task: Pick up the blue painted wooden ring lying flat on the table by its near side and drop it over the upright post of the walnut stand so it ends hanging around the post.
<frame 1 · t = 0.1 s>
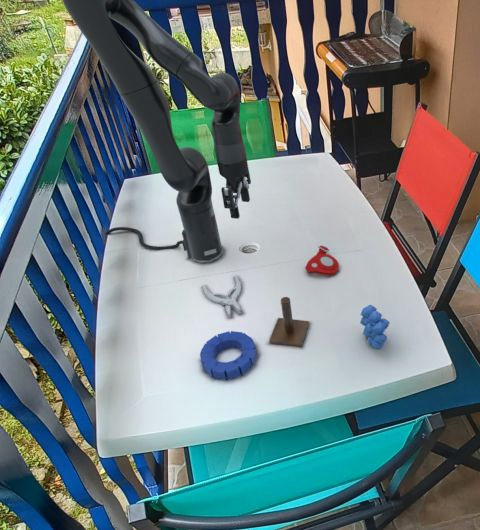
hand: (240, 209, 137), 17 cm above the table, tool pointing down, fingers open, 8 cm apart
ring: (229, 358, 118), on the table
grapes: (376, 343, 122), on the table
pliers: (227, 299, 134), on the table
tracker holder: (324, 265, 146), on the table
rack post: (289, 333, 124), on the table
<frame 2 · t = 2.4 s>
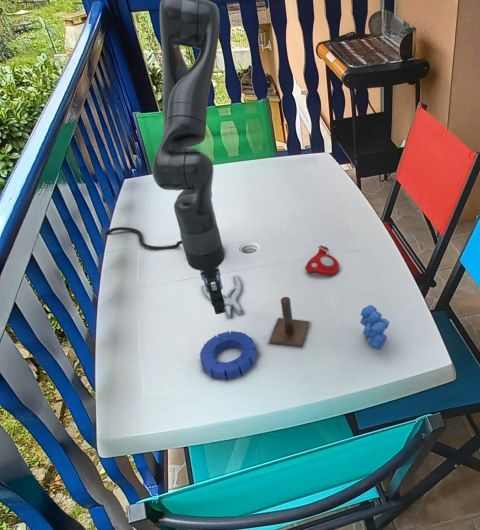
hand: (217, 300, 112), 15 cm above the table, tool pointing down, fingers open, 8 cm apart
nothing on the table moved.
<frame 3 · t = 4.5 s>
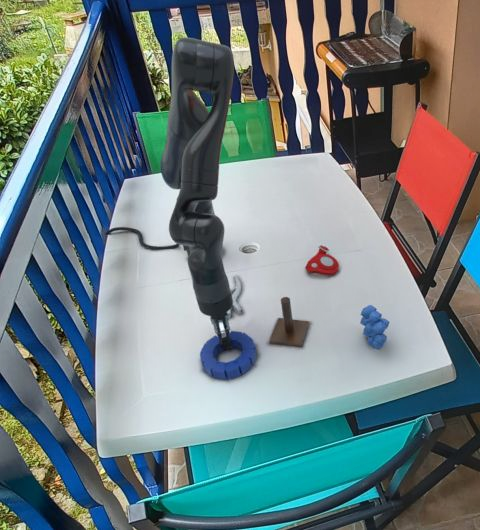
hand: (225, 342, 121), 1 cm above the table, tool pointing down, fingers closed on ring, 3 cm apart
ring: (229, 358, 118), on the table, touching gripper
everything else where it was.
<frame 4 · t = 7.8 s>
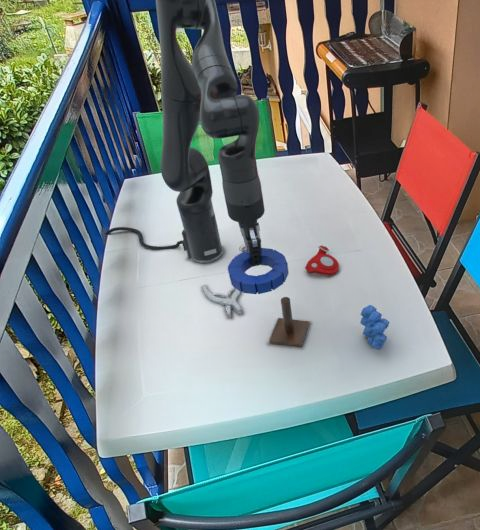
hand: (254, 260, 112), 22 cm above the table, tool pointing down, fingers closed on ring, 3 cm apart
ring: (259, 275, 109), point 21 cm above the table, touching gripper
everything else where it was.
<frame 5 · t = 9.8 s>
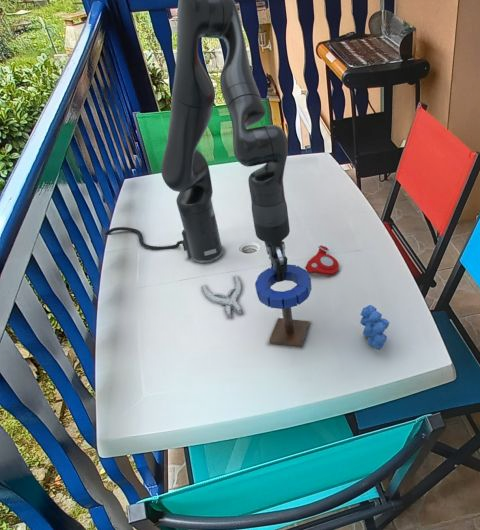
hand: (279, 276, 118), 15 cm above the table, tool pointing down, fingers closed on ring, 3 cm apart
ring: (284, 290, 115), point 14 cm above the table, touching gripper
everything else where it was.
when the fingers open (11 cm above the table, at t = 11.3 s): ring drops 9 cm, resting on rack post.
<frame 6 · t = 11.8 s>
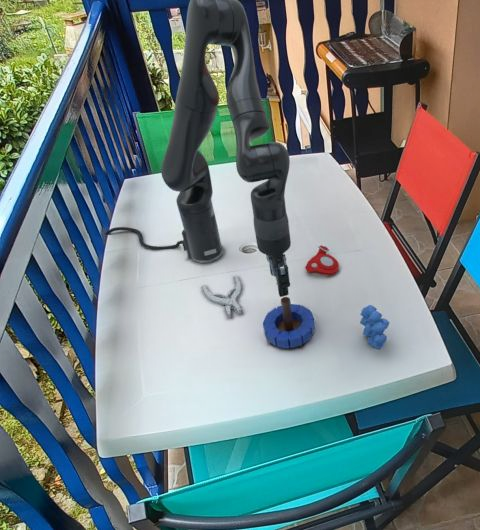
hand: (279, 284, 120), 12 cm above the table, tool pointing down, fingers open, 8 cm apart
ring: (289, 329, 124), point 1 cm above the table, touching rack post
everything else where it was.
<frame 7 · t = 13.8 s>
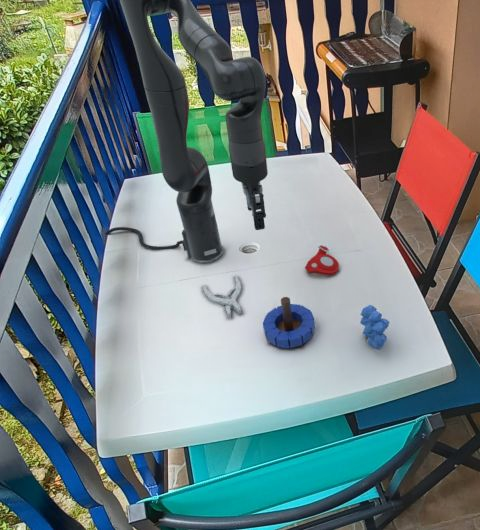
hand: (256, 218, 116), 27 cm above the table, tool pointing down, fingers open, 8 cm apart
nothing on the table moved.
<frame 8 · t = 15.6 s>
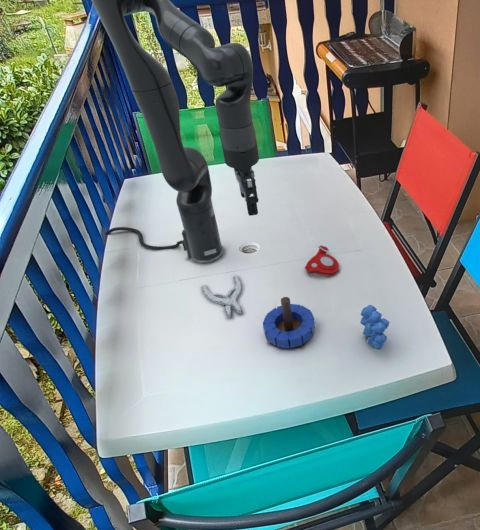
hand: (249, 205, 119), 28 cm above the table, tool pointing down, fingers open, 8 cm apart
nothing on the table moved.
at the end: ring 0.5 cm from the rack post (horizontally); ring point 1.0 cm above the table; the gripper is holding nothing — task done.
